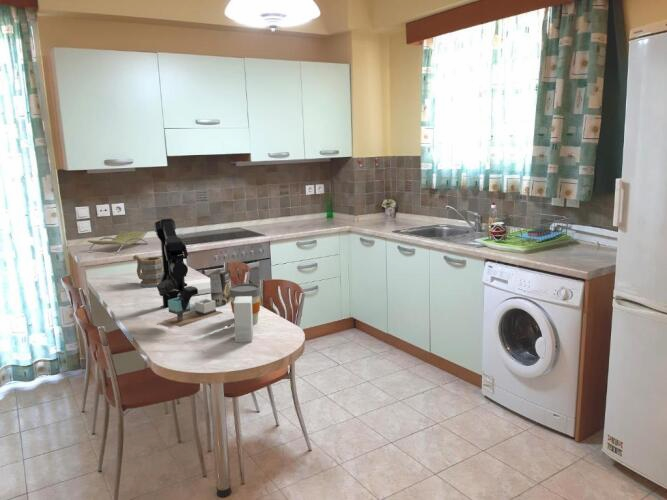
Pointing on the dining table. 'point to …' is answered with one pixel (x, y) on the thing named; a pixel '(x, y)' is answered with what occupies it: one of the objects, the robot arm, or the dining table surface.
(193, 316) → the pin board
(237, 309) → the skincare box
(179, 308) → the teal sleeve
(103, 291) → the dining table surface
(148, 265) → the tankard
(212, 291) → the coffee box
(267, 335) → the dining table surface
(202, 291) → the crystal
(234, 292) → the reusable coffee cup
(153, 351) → the dining table surface
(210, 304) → the grey sleeve
